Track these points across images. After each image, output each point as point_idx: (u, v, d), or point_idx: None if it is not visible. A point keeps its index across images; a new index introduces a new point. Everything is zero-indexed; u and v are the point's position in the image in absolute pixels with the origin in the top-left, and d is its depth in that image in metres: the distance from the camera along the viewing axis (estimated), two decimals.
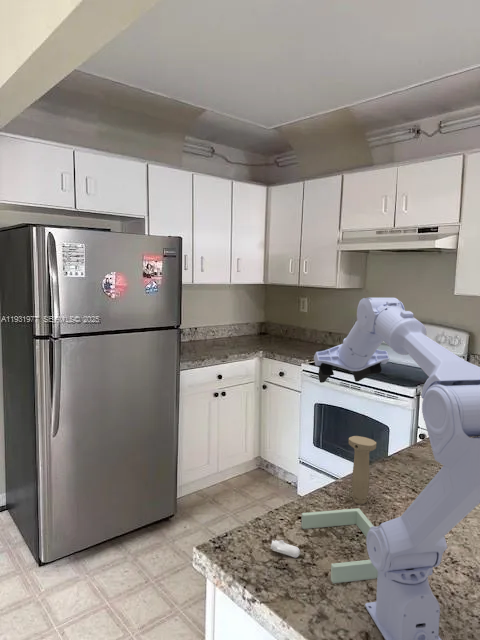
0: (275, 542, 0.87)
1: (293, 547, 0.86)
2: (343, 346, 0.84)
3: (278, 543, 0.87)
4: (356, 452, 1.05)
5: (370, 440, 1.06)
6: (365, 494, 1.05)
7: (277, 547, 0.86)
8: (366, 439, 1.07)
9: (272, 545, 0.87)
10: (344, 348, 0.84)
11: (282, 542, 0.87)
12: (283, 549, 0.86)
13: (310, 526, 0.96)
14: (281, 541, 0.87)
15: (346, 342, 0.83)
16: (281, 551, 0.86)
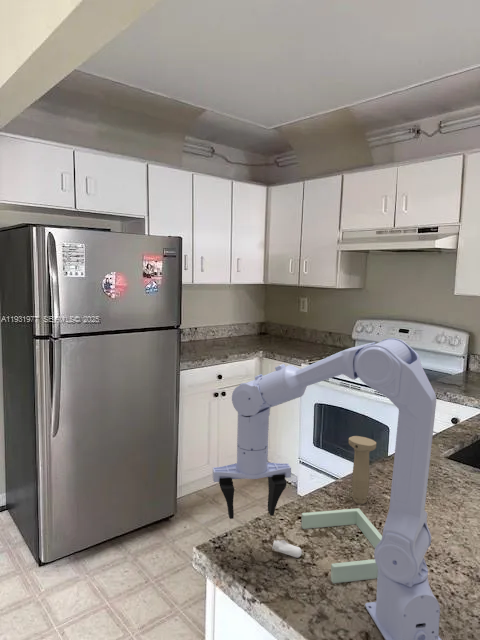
0: (277, 542, 0.87)
1: (295, 547, 0.86)
2: (237, 453, 0.84)
3: (280, 543, 0.86)
4: (356, 452, 1.05)
5: (370, 440, 1.06)
6: (365, 494, 1.05)
7: (279, 547, 0.86)
8: (366, 439, 1.07)
9: (274, 545, 0.86)
10: (237, 452, 0.83)
11: (284, 542, 0.87)
12: (285, 549, 0.86)
13: (310, 526, 0.96)
14: (283, 541, 0.87)
15: (237, 445, 0.83)
16: (283, 551, 0.86)
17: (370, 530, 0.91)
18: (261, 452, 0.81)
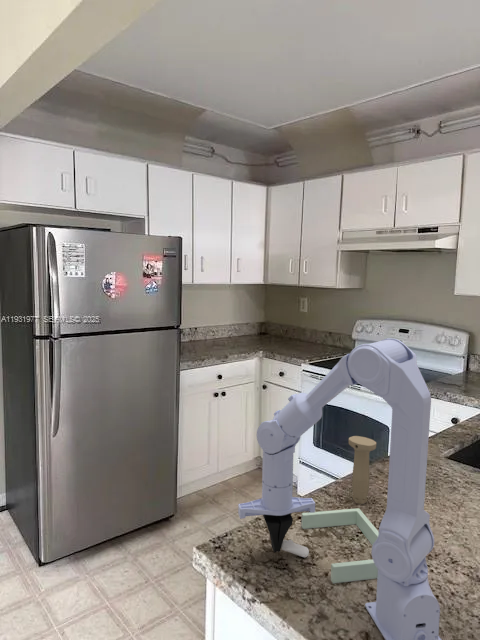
0: (284, 541, 0.87)
1: (302, 547, 0.86)
2: (262, 489, 0.85)
3: (287, 542, 0.86)
4: (356, 452, 1.05)
5: (370, 440, 1.06)
6: (365, 494, 1.05)
7: (286, 547, 0.86)
8: (366, 439, 1.07)
9: None
10: (262, 489, 0.84)
11: (291, 542, 0.86)
12: (292, 549, 0.86)
13: (310, 526, 0.96)
14: (290, 540, 0.87)
15: (262, 481, 0.85)
16: (290, 550, 0.86)
17: (370, 530, 0.91)
18: (286, 489, 0.83)
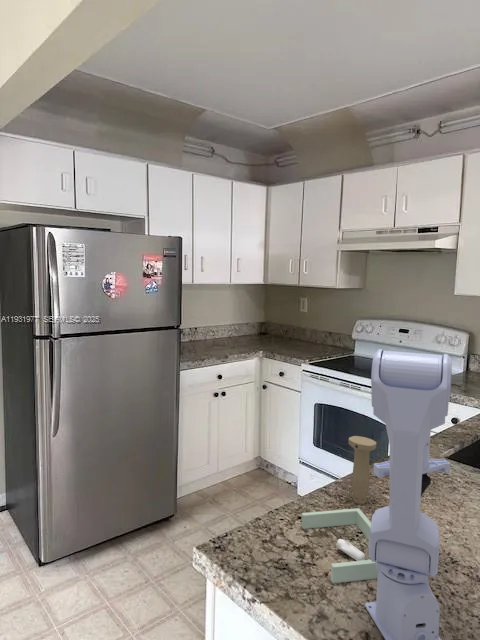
0: (341, 541, 0.87)
1: (358, 551, 0.85)
2: None
3: (344, 543, 0.87)
4: (356, 452, 1.05)
5: (370, 440, 1.06)
6: (365, 494, 1.05)
7: (341, 546, 0.87)
8: (366, 439, 1.07)
9: (338, 543, 0.88)
10: None
11: (348, 543, 0.87)
12: (347, 550, 0.86)
13: (310, 526, 0.96)
14: (347, 542, 0.87)
15: None
16: (345, 551, 0.86)
17: None
18: (426, 448, 0.82)
